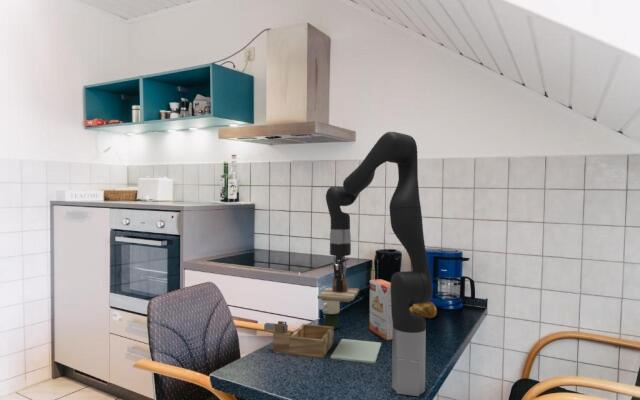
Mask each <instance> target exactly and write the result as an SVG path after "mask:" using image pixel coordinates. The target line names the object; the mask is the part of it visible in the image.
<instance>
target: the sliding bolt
mask: <svg viewBox="0 0 640 400" xmlns="http://www.w3.org/2000/svg"><path fill="white" fill-rule="evenodd" d="M286 322H287V321H283V322H282V324H283V332H286V331H287V330H288V329H289V327H288V326H289V325H288V324H287V325H286ZM275 324H276V323H272V322H265V323H264V327H263V328H264V329H263V330H264V331H268V332H269V331H270V332H275Z"/></svg>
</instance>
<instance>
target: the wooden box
mask: <svg viewBox="0 0 640 400" xmlns="http://www.w3.org/2000/svg"><path fill="white" fill-rule="evenodd" d="M282 322H284V321H281V320H277V323H274V324H275V331H272V332H273V333H272V352H273V351H274V352H279V353H286V354H285V355H288V354H291V356H297V355H298V357H306V358H307V357H308V358H317V359H324V357H326V355H327V353H328V352H329V351H330V348H331V347H332V346H333V344H334V339H335V338H334V333H335V331H334V327H331V326H324V325H319V324H317V325H316V324H308V323H302V324H301V325H300V326H299V327H298V328H297V329H296V330H295V331H294V330H290V329H289V330H287V331H286V332H283V324H282ZM285 322H286V325H288V324H287V321H285ZM279 353H278V354H279Z"/></svg>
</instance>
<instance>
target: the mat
mask: <svg viewBox="0 0 640 400" xmlns="http://www.w3.org/2000/svg"><path fill="white" fill-rule="evenodd" d="M381 347H382V342H377V341H370V340H367V341H366V340H357V339H350V338H349V339H346V338H341V340H340V341H339V343H338V345H337V346H336V347H335V349H334V351H332V354H331V356H330V359H331V360H332V359H333V360H341V361H349V362H358V363H359V362H360V363H367V364H368V363H369V364H376V362H377V359H378V356H379V352H380V349H381Z"/></svg>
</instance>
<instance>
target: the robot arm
mask: <svg viewBox="0 0 640 400" xmlns="http://www.w3.org/2000/svg"><path fill="white" fill-rule="evenodd" d="M387 162H388V163H393V164H396V165H397V169H398V170H397V171H398V172H397V173H398V181H397V185H396V187H395V190H394V192H393V194H392V196H391V199H390V200H389V201H390V202H389V206H388V207H389V208H388V209H389V218H390V219H389V220H390V226H391V227H390V228H391V230H392V232H393V233H394V235H395V237H396V238H397V239H398V241H399V242H400V244H401V245H402V247H403V248H404V250H405V251H406V253H407V255H408V257H409V260H410V264H411V270H410V271H408V270H407V271H396V272H395V273H393V275H392V276H391V280H390V283H391V314H392V320H393V340H392V348H391V349H392V355H391V357H392V359H391V361H392V362H391V363H392V365H391V367H392V369H391V375H392V376H391V380H392V381H391V387H392V389H393V390H394V391H395V392H396V394H397V395H398V394H399V395H406V396H415V397H420V395H422V394H423V393H425V391H426V345H427V344H426V343H427V342H426V338H427V335H426V333H427V332H426V330H427V327H426V326H427V321H426V318H423V317H421V316H419V315H416V314H413V313H410V311H409V309H410V305H413V304H423V303H428V302H431V300H432V296H433V282H432V275H431V271H430V266H429V261H428V256H427V250H426V244H425V237H424V235H425V234H424V228H423V227H424V225H423V215H422V207H421V200H420V189H419V179H418V178H419V177H418V176H419V175H418V174H419V173H418V172H419V171H418V170H419V169H418V168H419V167H418V145H417V142H416V140H415V138H414V137H413V136H411V135H409V134H406V133H401V132H396V131H388V132H385V133H383V134H382V136H381V137H380V138H378V140H377V141H376V143H375V144H374V145H373V147H371V149H370V151H369V152H368V153H367V155H366V156H365V157H364V159H363V160H362V162H360V164H359V165H358V167H356V168H355V169H354V170H353V171H352V172H350V174H349V175H348V176H347V177H345V178H344V180H343V183H342V186H330V187H329V188H328V189H327V191H326V194H325V202H326V206H327V209H328V214H329V217H330V218H329V219H330V234H329V255H330V256H334V257H335V259H334V261H333V266H332V267H333V275H334V277H333V278H335V279H336V290H337V291H342V290H343V278H346V275H347V262H348V261H347V259H346V257H348V256H351V254H352V246H351V245H352V241H351V239H352V237H351V216H350V214H349V213H346V212H345V211H342V208H341V207H348V206H351V205H353V204H354V203H355V201H356V200H357V198H358V196H359V195H360V194H361V192H362V191H364V190H365V189H366V188H368V187H369V186H370V184H371V183H372V182H373V180H374V178H375V173H376V170H377V168H378V167H379V166H381V165H382V164H384V163H387Z"/></svg>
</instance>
